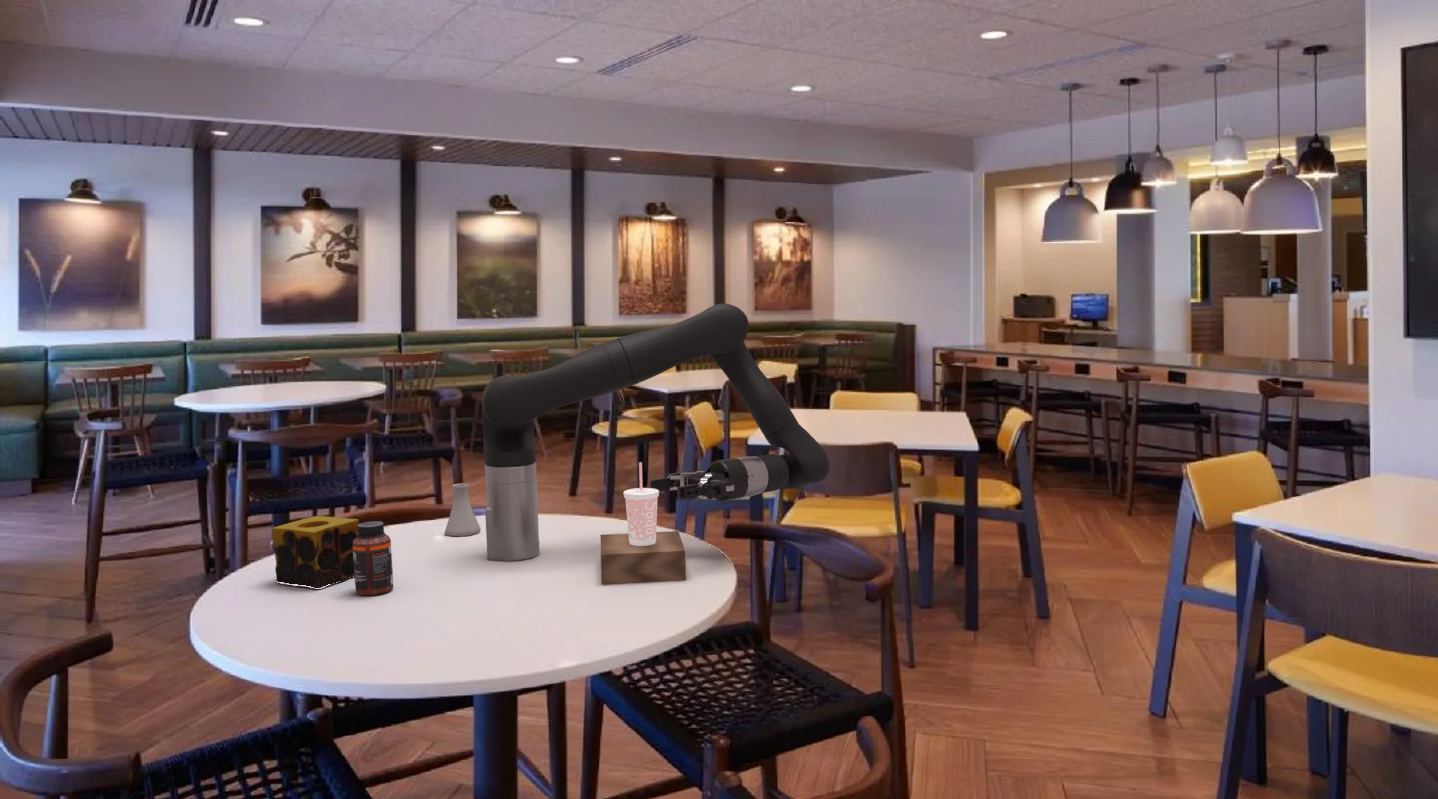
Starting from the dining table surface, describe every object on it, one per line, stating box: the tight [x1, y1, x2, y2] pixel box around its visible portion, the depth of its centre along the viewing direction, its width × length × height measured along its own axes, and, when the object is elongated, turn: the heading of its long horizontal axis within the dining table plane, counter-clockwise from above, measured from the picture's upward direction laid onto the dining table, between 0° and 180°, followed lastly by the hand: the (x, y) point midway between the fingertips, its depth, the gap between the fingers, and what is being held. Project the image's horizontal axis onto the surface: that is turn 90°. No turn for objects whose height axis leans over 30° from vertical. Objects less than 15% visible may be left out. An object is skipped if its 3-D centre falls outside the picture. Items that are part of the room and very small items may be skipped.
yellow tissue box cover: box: [271, 515, 360, 588], centre depth 170 cm, size 10×10×10 cm
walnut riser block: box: [599, 530, 687, 585], centre depth 171 cm, size 14×14×5 cm
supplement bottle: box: [353, 520, 394, 596], centre depth 162 cm, size 6×6×11 cm
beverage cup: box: [623, 461, 660, 546], centre depth 170 cm, size 6×6×14 cm
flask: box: [443, 482, 481, 537], centre depth 202 cm, size 7×7×10 cm
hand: (664, 489), depth 173 cm, fingers open, 8 cm apart
